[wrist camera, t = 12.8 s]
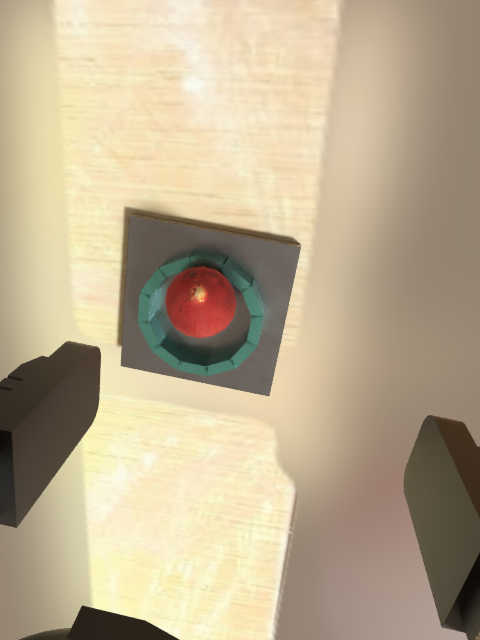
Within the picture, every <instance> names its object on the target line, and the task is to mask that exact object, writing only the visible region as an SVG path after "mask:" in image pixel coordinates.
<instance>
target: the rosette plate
mask: <svg viewBox="0 0 480 640" xmlns="http://www.w3.org/2000/svg"><path fill="white" fill-rule="evenodd" d="M300 249H301V244H295V243H290V242H285V241H279V240H274V239H268V238H263V237H257V236H252V235H247V234H241V233H236V232H230V231H225V230H219V229H214V228H209V227H203V226H198V225H192V224H187V223H181V222H176V221H171V220H165V219H160V218H154V217H149V216H143V215H138V214H132V215H130V219H129V236H128V253H127V269H126V286H125V303H124V320H123V337H122V355H121V366H123V367H128V368H133V369H138V370H143V371H148V372H153V373H158V374H162V375H167V376H173V377H177V378H182V379H187V380H192V381H197V382H201V383H206V384H211V385H217V386H221V387H226V388H231V389H236V390H241V391H245V392H250V393H255V394H260V395H265V396H269V395H270V391H271V386H272V381H273V376H274V372H275V367H276V362H277V358H278V353H279V348H280V343H281V339H282V334H283V329H284V325H285V320H286V315H287V310H288V306H289V301H290V296H291V292H292V287H293V282H294V277H295V273H296V268H297V263H298V259H299V254H300ZM202 266H203V267H207V268H211V269H214V270H217V271H219V272H220V273H221V274H222V275H224V276H225V277H226V278H227V279H228V280H229V282H230V284H231V286H232V287H233V289H234V292H235V298H236V303H237V305H236V309H235V314H234V318H233V319H232V321H231V322H230V323H229V324H228V326H227V327H226V328H225V329H224V330H222V331H220V332H219V333H217V334H215V335H214V336H210V337H204V338H196V337H192V336H187V335H185V334H183V333H182V332H181V331H179V330H178V329H176V328H175V327H174V325H173V324H172V322H171V320H170V319H169V317H168V313H167V309H166V304H165V300H166V295H167V290H168V288H169V286H170V284H171V283H172V281H173V280H174V278H175V277H176V276H177V275H179V274H180V273H182V272H183V271H185V270H186V269H189V268H195V267H202Z"/></svg>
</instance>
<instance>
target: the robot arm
mask: <svg viewBox="0 0 480 640" xmlns="http://www.w3.org/2000/svg"><path fill="white" fill-rule="evenodd" d="M100 365H101V352H100V349H99V348H98V347H96V346H91V345H86V344H81V343H76V342H71V341H67V342H65V343H64V344H63V345H62V346H61V347H60V348H59V349H57V350H56V351H55V352H54V353H53V354H52V355H51V356H49V357H45V356H41V357H38V358H36V359H33V360H31V361H29V362H26V363H24V364H21V365H20V366H19V367H18V368H17V369H15V370H14V371H13V372H12V373H10V374H9V375H8V377H7V378H5V379H3V380H2V381H1V382H0V524H2V525H7V526H11V527H15V528H17V527H18V525H19V524H20V523H21V521H22V520H23V518H24V517H25V516H26V514H27V513H28V512H29V510H30V509H31V507H32V506H33V505H34V503H35V502H36V501H37V499H38V498H39V496H40V495H41V494H42V492H43V491H44V490H45V488H46V487H47V485H48V484H49V483H50V481H51V480H52V478H53V477H54V476H55V474H56V473H57V472H58V470H59V469H60V468H61V466H62V465H63V463H64V462H65V461H66V459H67V458H68V457H69V455H70V454H71V452H72V451H73V450H74V448H75V447H76V446H77V444H78V443H79V441H80V440H81V439H82V437H83V436H84V435H85V433H86V432H87V430H88V429H89V428H90V426H91V425H92V423H93V421H94V419H95V416H96V413H97V410H98V405H99V392H100V367H101V366H100ZM404 492H405V496H406V500H407V504H408V507H409V511H410V515H411V518H412V522H413V525H414V529H415V532H416V536H417V540H418V543H419V547H420V550H421V554H422V557H423V561H424V565H425V569H426V572H427V576H428V579H429V583H430V587H431V590H432V594H433V598H434V601H435V605H436V608H437V612H438V616H439V619H440V623H441V626H442V627H443V628H447V629H451V630H456V631H460V632H464V633H466V635H467V638H468V640H480V447H478V446H477V445H476V444H475V442H474V440H473V438H472V436H471V434H470V433H469V431H468V429H467V427H466V426H465V424H464V423H463V422H461V421H456V420H452V419H447V418H442V417H437V416H432V415H429V416H427V417H426V418H425V420H424V422H423V424H422V426H421V429H420V431H419V434H418V437H417V439H416V442H415V445H414V447H413V450H412V453H411V455H410V458H409V461H408V463H407V466H406V469H405V474H404ZM20 640H179V639H177V638H176V637H174V636H172V635H170V634H168V633H167V632H165V631H163V630H161V629H159V628H158V627H156V626H154V625H152V624H151V623H149V622H147V621H145V620H141V619H136V618H132V617H128V616H124V615H120V614H115V613H111V612H107V611H103V610H99V609H94V608H90V607H86V606H82V607H81V609H80V611H79V613H78V615H77V618H76V620H75V622H74V624H73V626H72V628H66V629H57V630H51V631H45V632H41V633H38V634H34V635H31V636H27V637H25V638H22V639H20Z"/></svg>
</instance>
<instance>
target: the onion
mask: <svg viewBox="0 0 480 640" xmlns="http://www.w3.org/2000/svg"><path fill="white" fill-rule="evenodd" d="M165 304H166V309H167V313H168V317H169V319H170V320H171V322H172V324H173V325H174V327H175V328H176V329H178V330H179V331H181V332H182V333H183V334H185V335H187V336H192V337H196V338H204V337H210V336H214V335H215V334H217V333H219V332H220V331H222V330H224V329H225V328H226V327H227V326H228V324H229V323H230V322H231V321H232V319H233V318H234V314H235V309H236V305H237V303H236V298H235V292H234V289H233V287H232V286H231V284H230V282H229V280H228V279H227V278H226V277H225V276H224V275H222V274H221V273H220V272H219V271H217V270H214V269H211V268H207V267H203V266H202V267H195V268H189V269H186V270H185V271H183V272H182V273H180V274H179V275H177V276H176V277H175V278H174V280H173V281H172V283H171V284H170V286H169V288H168V290H167V295H166V300H165Z"/></svg>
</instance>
